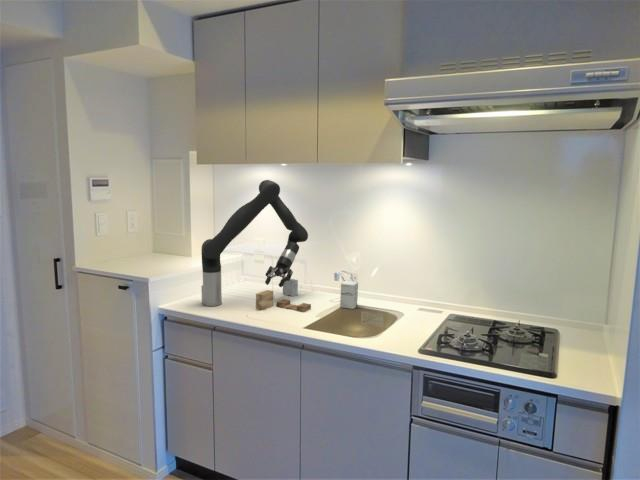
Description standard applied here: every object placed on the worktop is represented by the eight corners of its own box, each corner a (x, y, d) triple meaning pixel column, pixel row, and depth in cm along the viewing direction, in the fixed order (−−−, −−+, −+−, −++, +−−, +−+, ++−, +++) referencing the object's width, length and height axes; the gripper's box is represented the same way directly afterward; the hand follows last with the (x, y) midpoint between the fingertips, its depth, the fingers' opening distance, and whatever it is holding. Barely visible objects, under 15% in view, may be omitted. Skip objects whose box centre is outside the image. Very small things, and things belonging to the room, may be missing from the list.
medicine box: (298, 295, 258) (298, 279, 257) (292, 296, 255) (292, 281, 253) (288, 292, 263) (288, 277, 262) (282, 294, 260) (282, 278, 258)
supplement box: (339, 307, 235) (340, 283, 234) (344, 303, 242) (344, 280, 240) (353, 309, 233) (354, 284, 231) (357, 305, 240) (358, 281, 238)
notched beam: (276, 306, 236) (276, 301, 235) (283, 303, 241) (283, 299, 240) (304, 312, 227) (304, 307, 226) (310, 309, 232) (310, 304, 231)
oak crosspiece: (255, 309, 230) (255, 293, 229) (267, 305, 238) (267, 289, 237) (262, 310, 228) (262, 294, 227) (273, 306, 236) (273, 291, 235)
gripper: (272, 254, 247) (258, 279, 239) (294, 257, 239) (281, 283, 231) (278, 262, 252) (265, 287, 244) (300, 265, 245) (287, 291, 237)
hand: (273, 285), depth 238 cm, fingers open, 8 cm apart
